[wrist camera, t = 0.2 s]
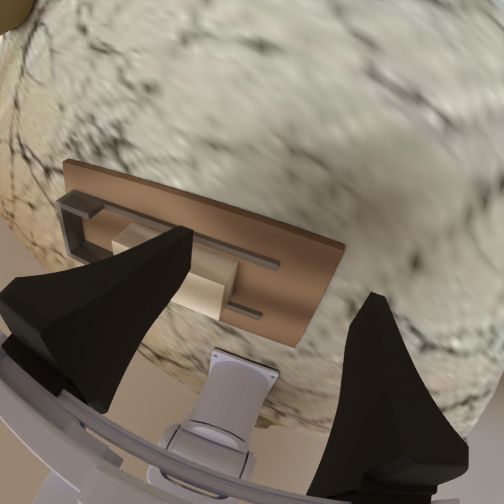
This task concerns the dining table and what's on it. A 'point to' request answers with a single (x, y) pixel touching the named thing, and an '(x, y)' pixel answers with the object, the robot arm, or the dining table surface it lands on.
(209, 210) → the board
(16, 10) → the squeeze bottle
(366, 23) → the dining table surface
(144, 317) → the robot arm
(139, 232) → the cream rectangular block
